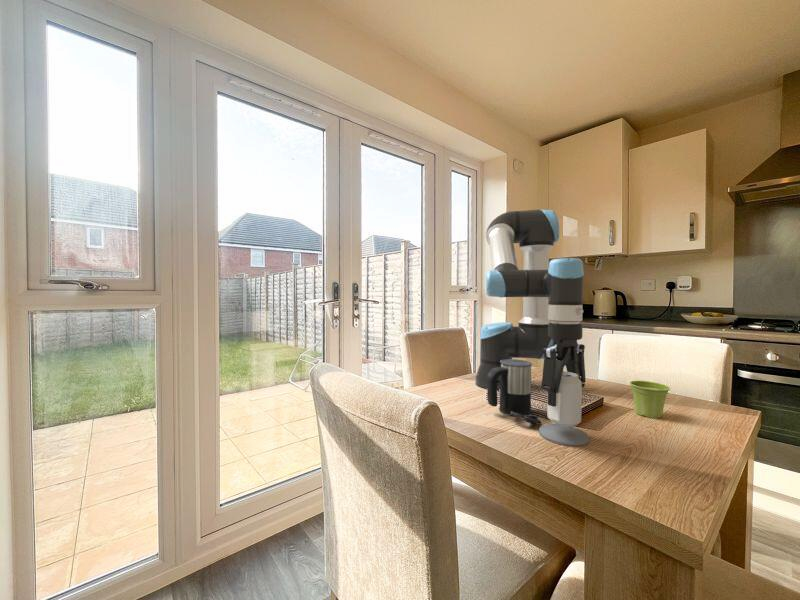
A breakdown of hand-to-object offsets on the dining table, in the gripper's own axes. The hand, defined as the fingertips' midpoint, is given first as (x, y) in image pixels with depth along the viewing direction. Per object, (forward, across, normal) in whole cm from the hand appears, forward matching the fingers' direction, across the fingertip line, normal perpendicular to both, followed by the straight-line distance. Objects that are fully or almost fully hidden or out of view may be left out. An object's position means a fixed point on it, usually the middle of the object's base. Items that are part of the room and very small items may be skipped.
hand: (563, 415), depth 83 cm
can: (+2, 0, 0) cm, 2 cm away
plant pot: (+5, +34, -5) cm, 35 cm away
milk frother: (+5, +2, +14) cm, 15 cm away
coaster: (+5, 0, 0) cm, 5 cm away
